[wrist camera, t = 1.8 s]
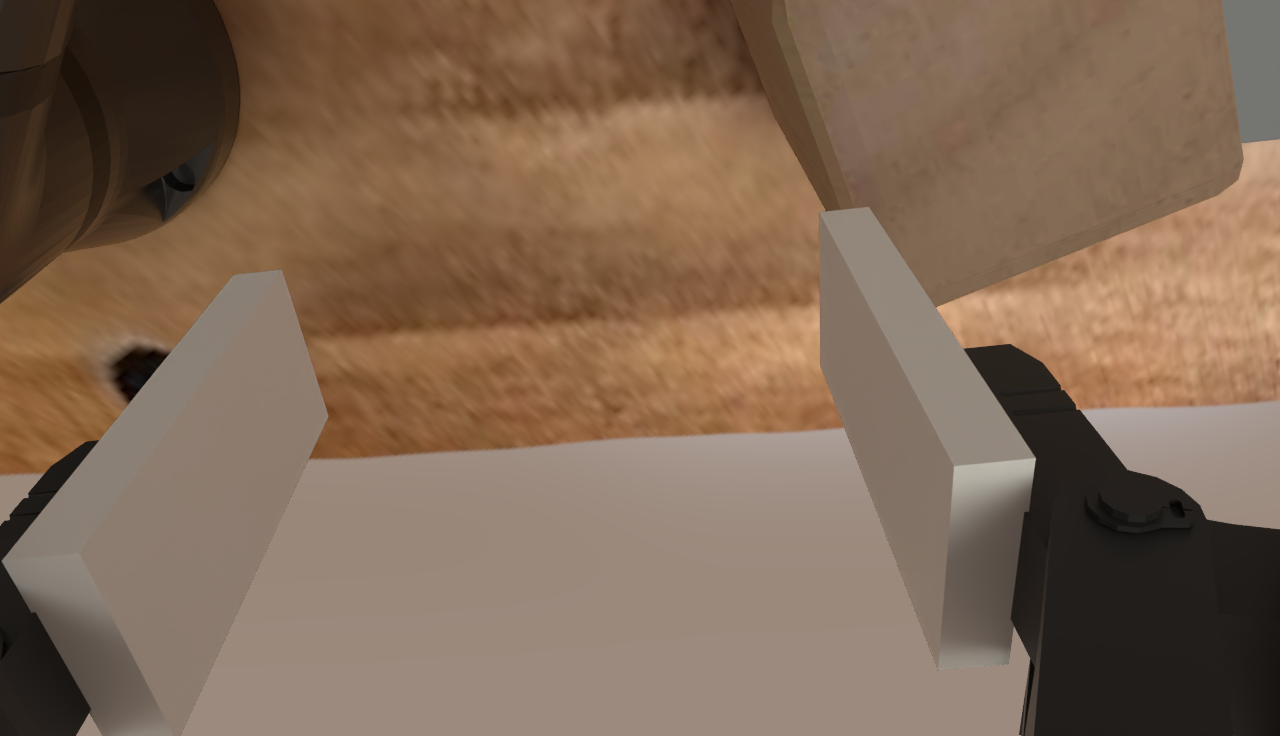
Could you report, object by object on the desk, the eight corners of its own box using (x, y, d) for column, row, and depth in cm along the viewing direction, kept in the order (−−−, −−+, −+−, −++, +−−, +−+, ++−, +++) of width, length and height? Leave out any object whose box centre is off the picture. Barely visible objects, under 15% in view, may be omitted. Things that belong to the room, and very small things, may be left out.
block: (993, 35, 42) (1266, 192, 24) (779, 131, 44) (891, 340, 26) (931, -208, 37) (1214, -227, 20) (694, -89, 39) (763, -11, 22)
